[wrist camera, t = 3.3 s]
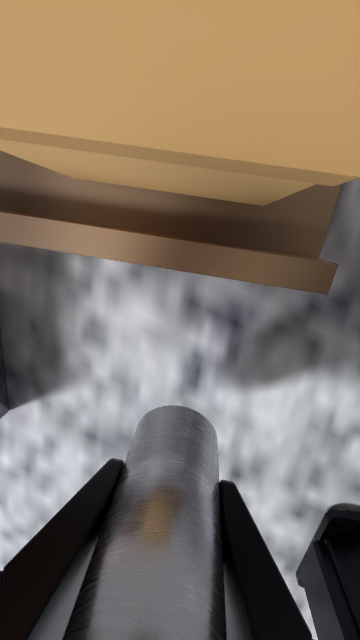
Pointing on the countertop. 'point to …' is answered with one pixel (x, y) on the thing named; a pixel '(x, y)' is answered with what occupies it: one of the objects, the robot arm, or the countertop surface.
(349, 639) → the robot arm
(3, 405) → the square hollow tube
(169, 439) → the rounded metal peg
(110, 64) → the tan cardboard box
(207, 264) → the bay
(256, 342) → the countertop surface
